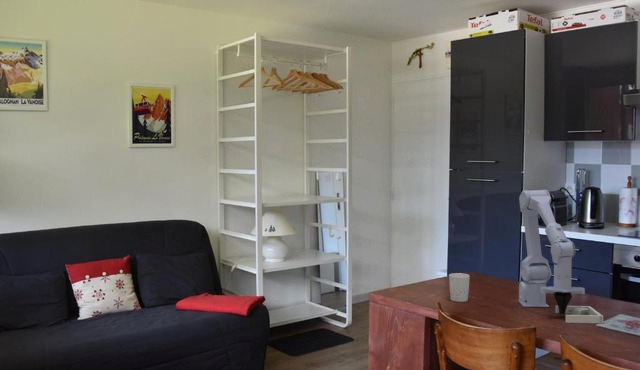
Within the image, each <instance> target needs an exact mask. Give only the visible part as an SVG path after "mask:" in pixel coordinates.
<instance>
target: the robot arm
mask: <svg viewBox="0 0 640 370" xmlns="http://www.w3.org/2000/svg"><path fill="white" fill-rule="evenodd" d="M518 199H519V201H518V202H519V208H520V210H519V211H520V212H521V213H522V214H523V215H522V216H523V225H524V234H525V244H526V245H525V246H526V255H527V256H526V257H525V258H524V259H522V261H521V267H520V277H521V279H523V281H519V284H518V285H519V286H518V302H519V303H520V305H521V306H522V307H527V308H528V307H530V308H533V307H534V308H550V305H548V303H546V302H547V301H546V299H547V298H546V297H547V296H546V294H553V296H554V298H555V301H556V305H557V306H558V308H559V313H558V314H559V315H566V313H565V311H566V308H567V306H569V303H570V301H571V300H572V297H573V294H574V295H575V294H578V295H579V294H581V295H585V293H586V292H585V291H586V289H585V288H584V287H579V286H578V287H577V286H572V265H573V264H572V260H573V259H572V258H574V256H575V255H576V246H575V243H574V242H573V240H572V241H571V240H570V238H568V237H567V235H566V233H565V232H564V229H563V227H562V226H561V224H560V223H557V222H556V219H555V216H554V213H553V211H552V207H551V203H552V197H551V194H550V192H549V191H548V190H547V189H538V190H537V189H536V190H535V189H534V190H532V189H531V190H527V189H524V190H522V191H521V193H520V195H519V198H518ZM538 215H539V216H540V218H541V219H542V221H543V223H544V225H545V226H546V228H545V230H544V231H545V234H546V237H547V239H548V241H549V243H550V245H551V246H550V254H551V257H552V262H553V285H550V286H547V284H546V283H548V282H549V280H550V278H551V276H552V269H551V267H550V264H549V260H548V259H546V258H545V257H544V256H543V255H542V253H543V252H542V246H541V236H540V227H539V217H538Z"/></svg>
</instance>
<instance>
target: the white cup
mask: <svg viewBox="0 0 640 370" xmlns="http://www.w3.org/2000/svg"><path fill="white" fill-rule="evenodd" d="M448 277H449V293H450V300H451V301H452V302H458V303H465V302H468V300H469V291H470V274H467V273H463V272H462V273H461V272H459V273H458V272H455V273H450V274H448Z"/></svg>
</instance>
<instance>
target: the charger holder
mask: <svg viewBox="0 0 640 370" xmlns="http://www.w3.org/2000/svg"><path fill="white" fill-rule="evenodd" d="M578 306H580V307H583V308H586V309H589V310H590V315H572V313H571V312H569V311H570V310H572V307H578ZM555 313H556V314H560V313H559V308H558V305H555ZM565 323H569V324H570V323H571V324H604V315H603V314H601V312H598V311H597V310H596V309H594V308H593V307H592V306H589V305H567V308H566V311H565Z"/></svg>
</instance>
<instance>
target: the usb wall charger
mask: <svg viewBox="0 0 640 370" xmlns="http://www.w3.org/2000/svg"><path fill="white" fill-rule="evenodd" d="M577 306H578V307H572V310H570V311H569V312H571V313H570V314H571V315H590V310H589V309H586V308H583V307H580V306H581V305H577Z"/></svg>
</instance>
